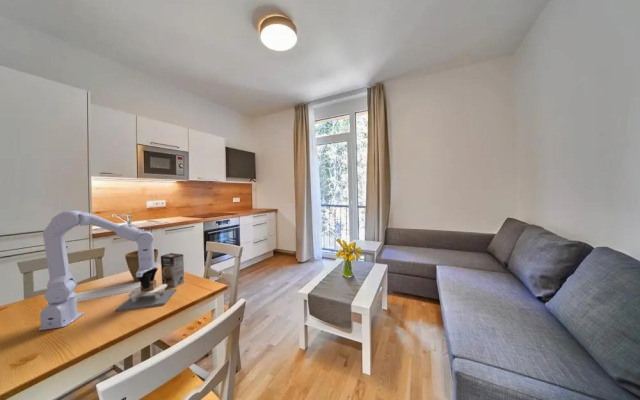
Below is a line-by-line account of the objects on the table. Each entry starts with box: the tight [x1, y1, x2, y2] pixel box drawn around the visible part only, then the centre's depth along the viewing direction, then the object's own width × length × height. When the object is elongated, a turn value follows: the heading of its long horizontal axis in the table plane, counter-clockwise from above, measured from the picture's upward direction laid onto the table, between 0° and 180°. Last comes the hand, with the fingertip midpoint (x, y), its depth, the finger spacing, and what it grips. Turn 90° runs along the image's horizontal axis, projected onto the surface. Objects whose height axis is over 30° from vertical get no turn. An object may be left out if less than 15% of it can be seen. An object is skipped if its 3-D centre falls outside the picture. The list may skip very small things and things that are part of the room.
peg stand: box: [115, 288, 177, 312], centre depth 101 cm, size 14×18×4 cm
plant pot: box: [124, 248, 159, 282], centre depth 125 cm, size 15×15×16 cm
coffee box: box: [160, 252, 185, 288], centre depth 118 cm, size 9×6×16 cm
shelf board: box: [127, 279, 168, 299], centre depth 101 cm, size 12×8×5 cm, turn 105°
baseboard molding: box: [75, 281, 141, 303], centre depth 109 cm, size 31×3×12 cm
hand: (148, 286), depth 101 cm, fingers closed on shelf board, 3 cm apart
